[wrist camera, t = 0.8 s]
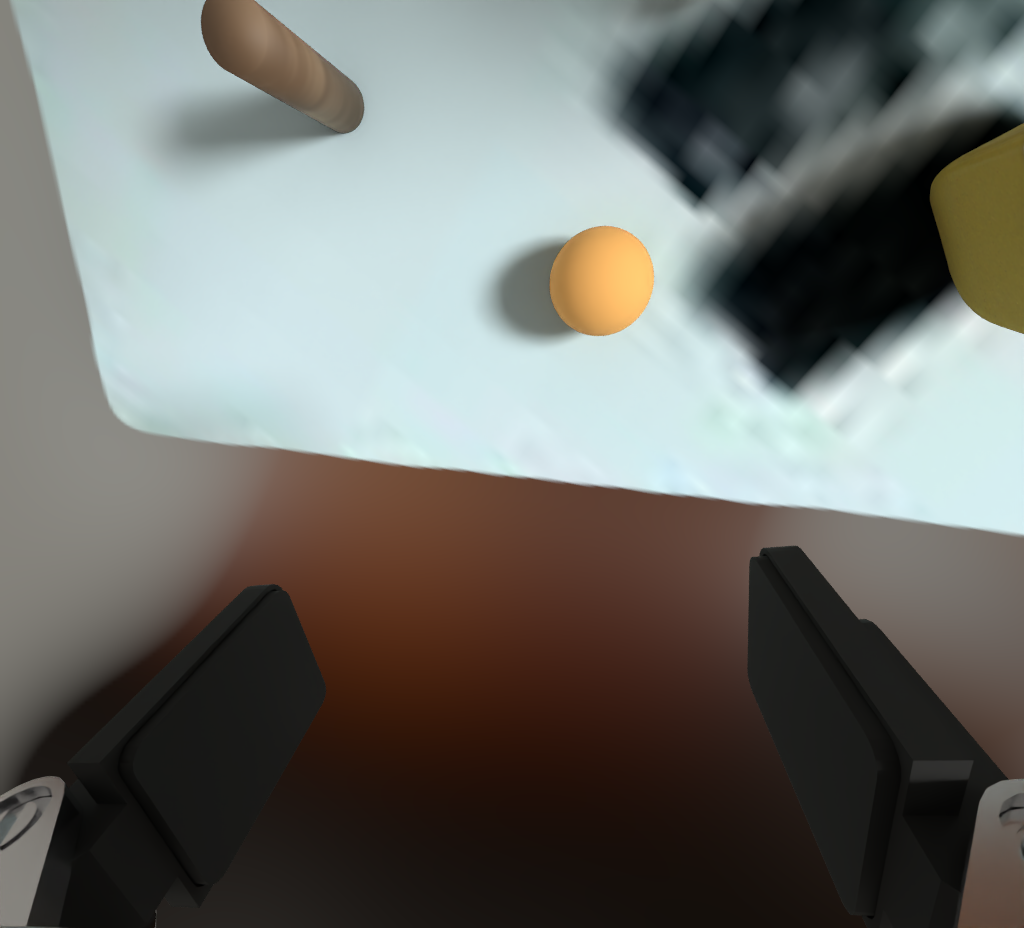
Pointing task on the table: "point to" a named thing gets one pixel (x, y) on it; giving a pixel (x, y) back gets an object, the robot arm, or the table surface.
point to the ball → (601, 281)
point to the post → (279, 63)
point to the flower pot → (985, 227)
